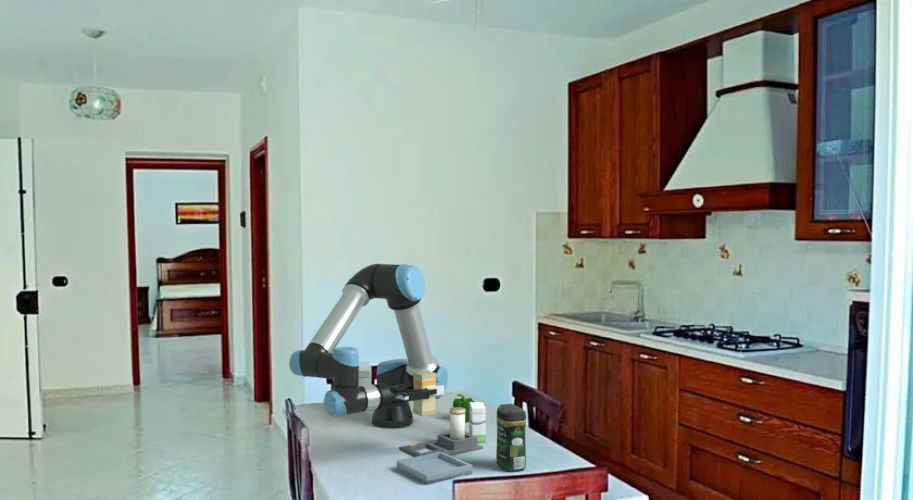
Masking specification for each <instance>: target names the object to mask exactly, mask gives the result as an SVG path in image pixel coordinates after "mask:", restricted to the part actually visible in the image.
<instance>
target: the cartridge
mask: <svg viewBox="0 0 913 500" xmlns="http://www.w3.org/2000/svg"><path fill="white" fill-rule="evenodd" d="M449 433H450V439H452V440H460V439H465V433H466V421H465V408H461V407H454V408H453V407H451V408H449Z"/></svg>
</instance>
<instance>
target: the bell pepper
mask: <svg viewBox="0 0 913 500" xmlns="http://www.w3.org/2000/svg"><path fill="white" fill-rule="evenodd" d="M456 395H457V397H460V398H454V399H453V401H452V408H454V407H461V408H465V422H470V402H475V400H473V398H471V397H468V398H466V397H465V395H464V394H463V393H457V394H456Z"/></svg>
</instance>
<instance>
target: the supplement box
mask: <svg viewBox="0 0 913 500" xmlns="http://www.w3.org/2000/svg"><path fill="white" fill-rule="evenodd" d="M366 385H372V366H371V363H370V362H369V361H359V387H360V386H366Z"/></svg>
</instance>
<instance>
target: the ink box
mask: <svg viewBox="0 0 913 500" xmlns="http://www.w3.org/2000/svg"><path fill="white" fill-rule="evenodd" d="M486 414H487V411H486V406H485V404H484V402H480V401H474V402H470V421H469V425H468V426H469V432H468V434H470V435H473V436H475V437H477V443H486V440H487V439H486V437H487V436H486V435H487V429H486V428H487V427H486V426H487V423H486V422H487V421H486V420H487V419H486V417H487V416H486Z"/></svg>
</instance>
